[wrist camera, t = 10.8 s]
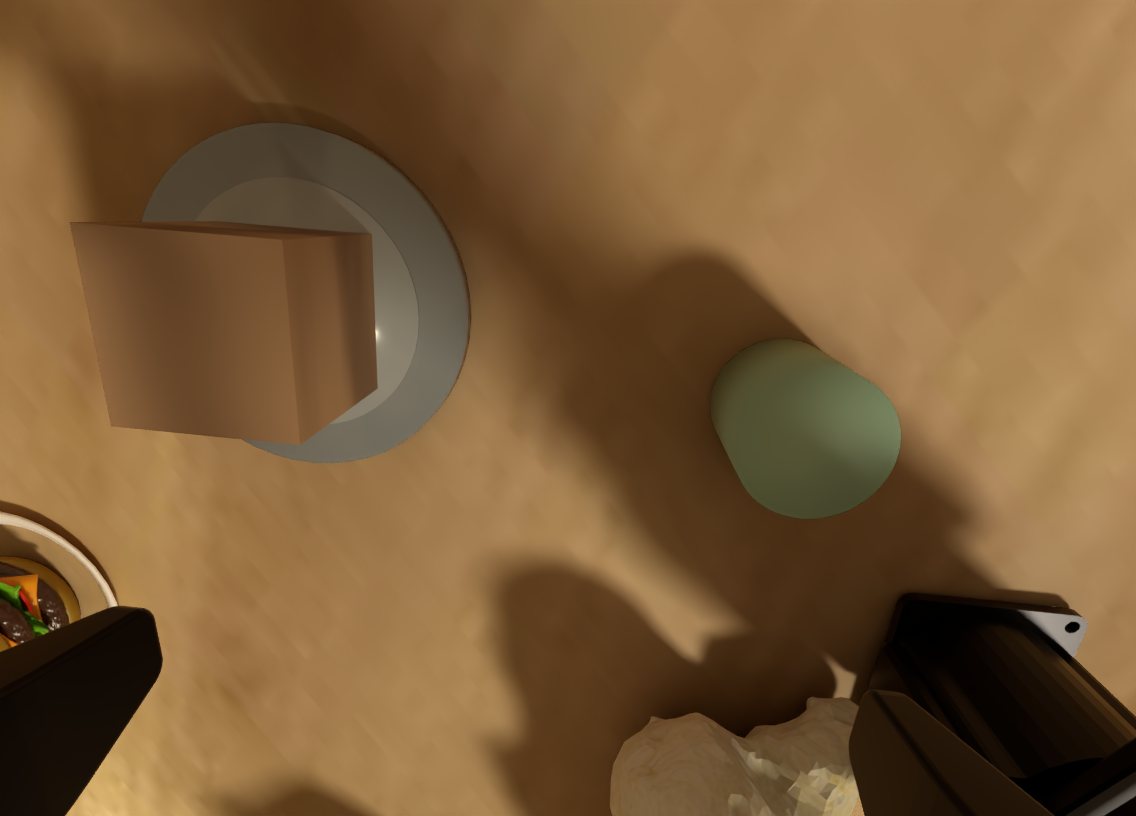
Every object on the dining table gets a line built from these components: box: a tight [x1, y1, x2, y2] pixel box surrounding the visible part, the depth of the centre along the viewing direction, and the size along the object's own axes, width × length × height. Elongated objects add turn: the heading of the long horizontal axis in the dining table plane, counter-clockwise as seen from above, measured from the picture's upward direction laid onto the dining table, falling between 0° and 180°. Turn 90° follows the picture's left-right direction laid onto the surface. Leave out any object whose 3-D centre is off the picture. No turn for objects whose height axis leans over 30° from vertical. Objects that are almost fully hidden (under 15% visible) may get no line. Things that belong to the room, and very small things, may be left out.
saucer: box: [141, 123, 471, 463], centre depth 19 cm, size 11×11×1 cm
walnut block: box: [70, 221, 378, 445], centre depth 16 cm, size 5×5×5 cm
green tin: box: [710, 339, 901, 519], centre depth 17 cm, size 4×4×4 cm
